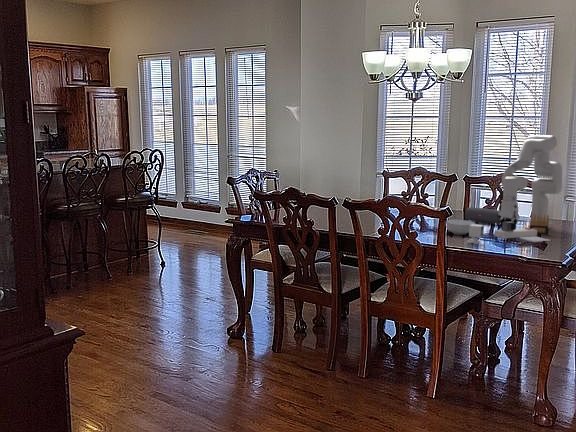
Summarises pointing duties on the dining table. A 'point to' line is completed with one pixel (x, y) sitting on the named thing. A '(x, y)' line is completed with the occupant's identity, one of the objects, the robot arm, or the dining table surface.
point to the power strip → (516, 233)
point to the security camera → (475, 233)
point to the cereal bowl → (459, 226)
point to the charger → (506, 226)
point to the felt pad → (534, 239)
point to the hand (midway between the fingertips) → (507, 228)
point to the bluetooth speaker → (482, 215)
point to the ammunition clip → (540, 224)
